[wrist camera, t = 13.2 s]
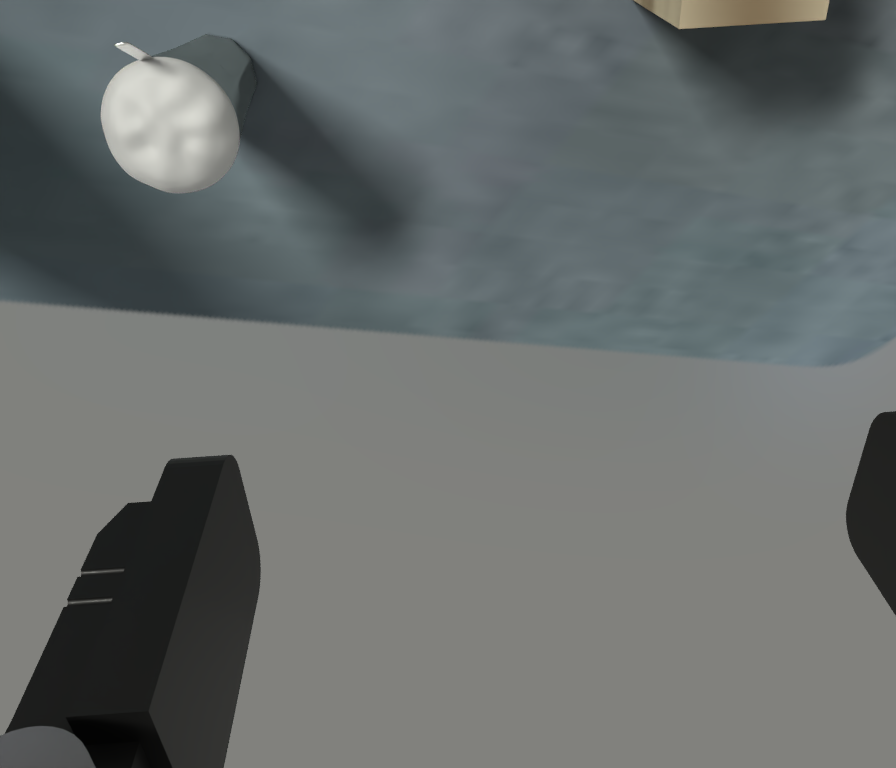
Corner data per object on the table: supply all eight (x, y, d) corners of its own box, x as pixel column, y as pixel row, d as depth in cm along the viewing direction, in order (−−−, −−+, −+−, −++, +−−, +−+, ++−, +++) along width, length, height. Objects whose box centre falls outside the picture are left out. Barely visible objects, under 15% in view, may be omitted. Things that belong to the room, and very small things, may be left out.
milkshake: (251, -14, 32) (195, 31, 24) (284, 121, 35) (244, 203, 27) (140, 3, 32) (46, 54, 24) (182, 136, 35) (111, 222, 27)
